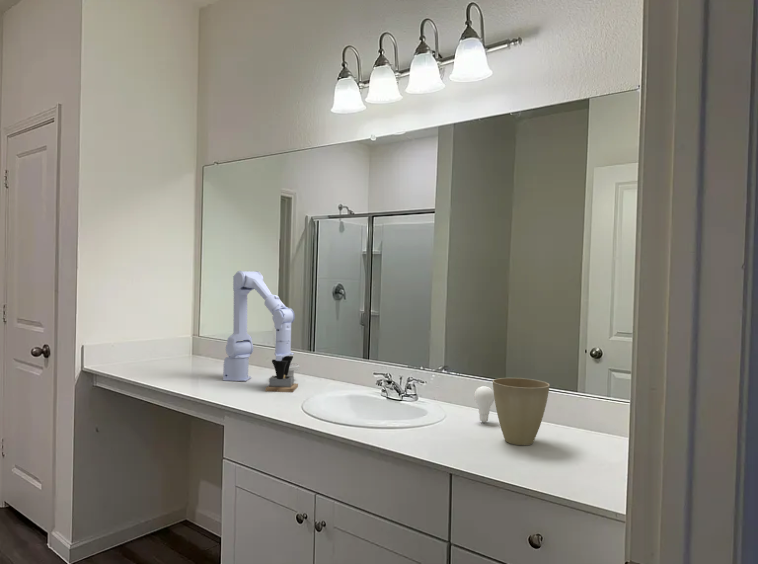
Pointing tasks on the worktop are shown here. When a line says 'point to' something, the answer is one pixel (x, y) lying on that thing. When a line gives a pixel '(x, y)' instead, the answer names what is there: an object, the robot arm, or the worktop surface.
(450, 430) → the worktop surface
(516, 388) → the plant pot
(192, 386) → the worktop surface
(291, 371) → the showerhead
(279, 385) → the grey rectangular block
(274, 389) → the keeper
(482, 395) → the lightbulb
